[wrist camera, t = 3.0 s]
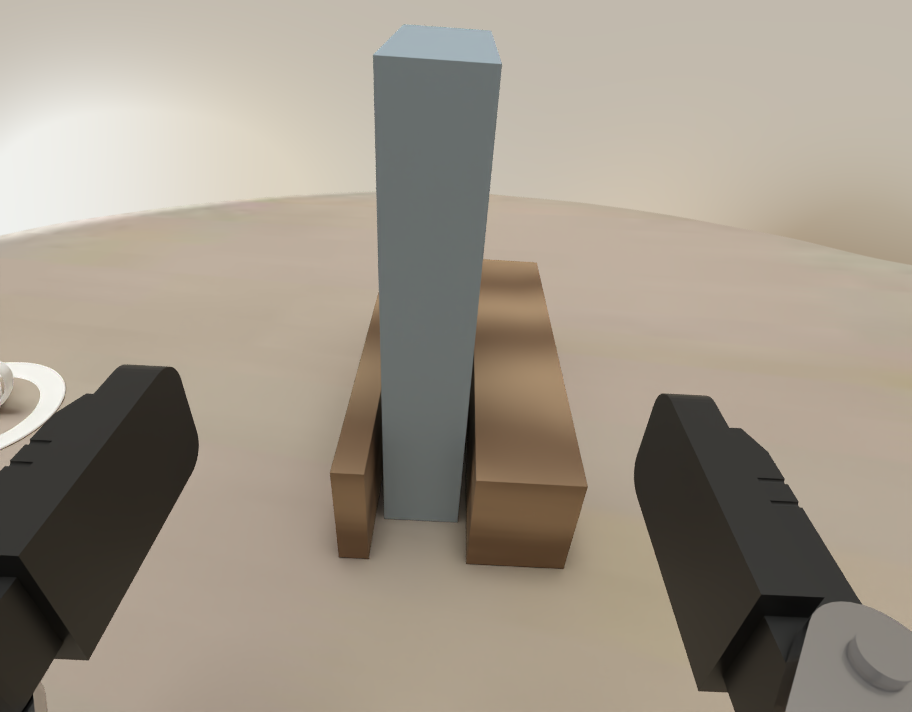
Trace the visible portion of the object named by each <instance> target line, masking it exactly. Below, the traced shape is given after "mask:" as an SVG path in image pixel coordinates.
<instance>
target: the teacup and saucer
mask: <svg viewBox="0 0 912 712" xmlns="http://www.w3.org/2000/svg"><path fill="white" fill-rule="evenodd" d="M0 377H2V378H3V381H4V387H5V388H4V394H3V395H2V387H1V383H0V407H1V405H2V404H3V403H4V402H5V401H6V400H7V398H8V397H9V395H10V393H11V391H12V389H13V384H14V378H13V377H17V378H23V379H26V380H29V381H31V382H33V383H34V384H35V385H36V386H37V387H38V388H39V390H40V400H39V403H38V405H37V407H36V408H35V409H34V411H33V412H32V413H31V414H30V415H29V416H28V417H27V418H26V419H25V420H23V421H22V422H21V423H20V424H18V425H17V426H15V427H14V428H12V429H10V430H9V431H7V432H5V433H3V434H1V435H0V449H3V448H5V447H7V446H9V445H11V444H13V443H15V442H17V441H19V440H20V439H22V438H24V437H25V436H27V435H29V434H30V433H32V432H33V431H35V430H36V429H37V428H39V427H40V426H41V425H42V424H44V423H45V422H46V421H47V420H48V419H49V418H50V417H51V416H52V415H53V414H54V413H55V412H56V410H57V409H58V408H59V406H60V405H61V403H62V401H63V399H64V396H65V391H66V386H65V382H64V380H63V378H62V377H61V376H60V374H58V373H57V372H56V371H55V370H53V369H51V368H49V367H46V366H43V365H39V364H34V363H25V362H8V363H3V362H1V361H0Z"/></svg>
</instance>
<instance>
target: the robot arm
mask: <svg viewBox="0 0 912 712" xmlns="http://www.w3.org/2000/svg"><path fill="white" fill-rule="evenodd" d="M198 448H199V441H198V434H197V431H196V427H195V424H194V421H193V417H192V414H191V411H190V407H189V404H188V401H187V398H186V394H185V391H184V388H183V384H182V381H181V378H180V375H179V373H178V372H177V371H176V369H174V368H173V367H164V366H145V365H121V366H119V367H118V368H117V369H116V370H115V371H114V372H113V373H112V374H111V375H110V376H109V377H108V378H107V380H106V381H105V382H104V383H103V384H102V385H101V386H100V387H99V389H98V390H97V391H96V392H95V393H94V394H85V395H83V396H82V397H80V398H79V399H77V400H75V401H74V402H72V403H71V404H69V405H67V406H66V407H64V408H63V409H61V410H60V411H58V412H56V413H55V414H53V415H52V416H51V417H50V419H49V420H48V421H47V422H46V423H45V424H44V425H43V426H42V427H41V428H40V429H39V430H38V431H37V432H36V434H35V435H34V436H33V437H32V438H31V439H30V444H29V445H24V446H23V447H22V448H21V450H20V451H19V452H18V453H17V454H16V455H15V456H14V457H13V458H12V459H11V460H10V466H9V467H8V466H5V467H4V468H3V469H2V470H1V471H0V712H48V709H47V701H46V693H45V690H44V686H43V685H42V683H41V679H42V678H43V676H44V674H45V673H46V671H47V669H48V668H49V666H50V664H51V663H52V661H53V660H54V659H71V660H89V659H90V657H91V655H92V653H93V651H94V650H95V648H96V646H97V644H98V642H99V641H100V639H101V637H102V635H103V633H104V631H105V630H106V628H107V626H108V624H109V622H110V621H111V619H112V617H113V615H114V613H115V612H116V610H117V608H118V606H119V604H120V602H121V601H122V599H123V597H124V595H125V593H126V592H127V590H128V588H129V586H130V584H131V583H132V581H133V579H134V577H135V575H136V573H137V572H138V570H139V568H140V566H141V564H142V563H143V561H144V559H145V557H146V555H147V553H148V552H149V550H150V548H151V546H152V544H153V543H154V541H155V539H156V537H157V535H158V534H159V532H160V530H161V528H162V526H163V524H164V523H165V521H166V519H167V517H168V515H169V514H170V512H171V510H172V508H173V506H174V505H175V503H176V501H177V499H178V497H179V495H180V494H181V492H182V490H183V488H184V486H185V485H186V483H187V481H188V479H189V477H190V476H191V474H192V472H193V470H194V467H195V464H196V461H197V456H198ZM634 482H635V490H636V494H637V498H638V501H639V504H640V507H641V511H642V514H643V517H644V520H645V523H646V526H647V530H648V533H649V536H650V539H651V542H652V545H653V548H654V552H655V555H656V558H657V561H658V564H659V567H660V571H661V574H662V577H663V580H664V583H665V586H666V590H667V593H668V596H669V599H670V602H671V605H672V609H673V612H674V615H675V618H676V621H677V624H678V628H679V631H680V634H681V637H682V640H683V643H684V647H685V650H686V653H687V656H688V659H689V662H690V665H691V669H692V672H693V675H694V678H695V681H696V684H697V688H698V691H708V692H728V693H729V696H730V699H731V702H732V705H733V707H734V710H735V712H912V632H911V631H910V630H909V629H907V628H906V627H905V626H903V625H902V624H900V623H899V622H898V621H896V620H894V619H892V618H891V617H889V616H887V615H886V614H884V613H882V612H879V611H877V610H875V609H873V608H870V607H867V606H864V605H862V603H861V602H860V600H859V599H858V597H857V596H856V594H855V593H854V591H853V589H852V588H851V586H850V585H849V583H848V581H847V580H846V578H845V576H844V575H843V573H842V572H841V570H840V568H839V567H838V565H837V563H836V562H835V560H834V559H833V557H832V555H831V554H830V552H829V550H828V549H827V547H826V546H825V544H824V542H823V541H822V539H821V537H820V536H819V534H818V533H817V531H816V529H815V528H814V526H813V524H812V523H811V521H810V520H809V518H808V516H807V515H806V513H805V511H804V510H803V508H799V506H798V500H797V498H796V497H795V495H794V494H793V492H792V490H791V489H790V487H789V485H788V484H784V477H783V476H782V474H781V472H780V471H779V469H778V468H777V466H776V464H775V463H774V461H773V459H772V458H771V456H770V455H769V453H768V452H767V451H766V450H765V449H764V448H763V447H762V446H760V445H759V444H758V443H757V442H756V441H755V440H754V439H753V438H751V437H750V436H749V435H748V434H747V433H746V432H745V431H743V430H742V429H741V428H729V427H728V425H727V423H726V421H725V420H724V418H723V416H722V414H721V413H720V411H719V409H718V407H717V405H716V404H715V402H714V401H713V399H712V398H711V397H709V396H701V395H682V394H661V395H659V396H658V397H657V399H656V401H655V403H654V406H653V409H652V412H651V415H650V418H649V421H648V424H647V427H646V430H645V433H644V436H643V439H642V442H641V445H640V448H639V451H638V454H637V457H636V461H635V468H634Z"/></svg>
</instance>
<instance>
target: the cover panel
mask: <svg viewBox="0 0 912 712" xmlns="http://www.w3.org/2000/svg"><path fill="white" fill-rule="evenodd" d="M501 68H502V63H501V60H500V57H499V54H498V51H497V48H496V45H495V41H494V38H493V35H492V33H491V31H488V30H473V29H461V28H446V27H433V26H419V25H405V24H404V25H403V26H402V27H401V28H400V29H399V30H398V31H397V32H396V33H395V34H394V35H393V36H392V37H391V38H390V39H389V40H388V41H387V42H386V43H385V44H384V45H383V46H382V47H381V48H380V49H379V50H378V51H377V52H376V53H375V54H374V55H373V69H374V108H375V109H374V110H375V149H376V192H377V233H378V274H379V315H380V356H381V397H382V438H383V479H384V519H403V520H422V521H441V522H457V520H458V510H459V500H460V490H461V479H462V469H463V459H464V448H465V438H466V428H467V418H468V407H469V397H470V387H471V376H472V366H473V356H474V346H475V335H476V325H477V315H478V304H479V294H480V284H481V274H482V263H483V253H484V243H485V233H486V222H487V212H488V202H489V191H490V180H491V171H492V160H493V150H494V140H495V130H496V119H497V108H498V99H499V89H500V78H501Z"/></svg>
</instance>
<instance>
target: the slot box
mask: <svg viewBox="0 0 912 712" xmlns="http://www.w3.org/2000/svg"><path fill="white" fill-rule="evenodd" d="M382 474H383V438H382V397H381V356H380V315H379V293H378V296H377V300H376V304H375V307H374V311H373V315H372V319H371V322H370V326H369V330H368V333H367V337H366V341H365V345H364V348H363V352H362V356H361V359H360V363H359V367H358V371H357V374H356V378H355V382H354V385H353V389H352V393H351V397H350V400H349V404H348V408H347V411H346V415H345V419H344V423H343V426H342V430H341V434H340V437H339V441H338V445H337V449H336V452H335V456H334V460H333V464H332V467H331V471H330V477H331V487H332V496H333V505H334V515H335V524H336V533H337V543H338V552H339V557H349V558H368V559H369V553H370V547H371V541H372V535H373V529H374V522H375V516H376V510H377V504H378V498H379V492H380V486H381V480H382ZM587 487H588V486H587V482H586V477H585V473H584V468H583V464H582V460H581V455H580V451H579V446H578V442H577V438H576V433H575V429H574V425H573V420H572V416H571V411H570V407H569V403H568V398H567V394H566V389H565V385H564V381H563V376H562V372H561V367H560V363H559V359H558V354H557V350H556V345H555V341H554V337H553V332H552V328H551V323H550V319H549V315H548V310H547V306H546V301H545V297H544V293H543V288H542V284H541V280H540V275H539V271H538V266H537V263H534V262H518V261H502V260H486V259H483V263H482V274H481V284H480V294H479V304H478V315H477V325H476V335H475V346H474V356H473V366H472V376H471V387H470V397H469V407H468V418H467V496H466V564H486V565H505V566H525V567H544V568H564V565H565V561H566V558H567V555H568V551H569V548H570V545H571V541H572V538H573V535H574V531H575V528H576V524H577V521H578V518H579V514H580V511H581V508H582V504H583V501H584V497H585V494H586V491H587Z"/></svg>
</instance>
